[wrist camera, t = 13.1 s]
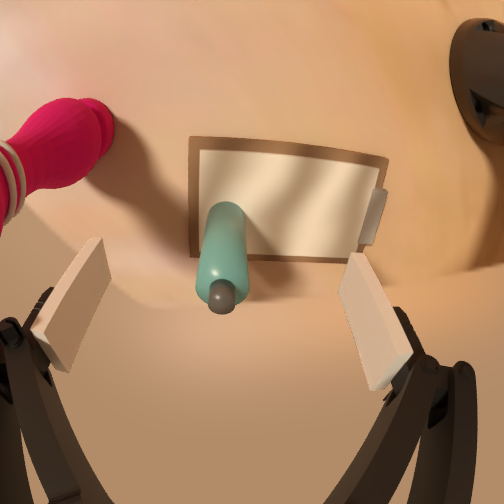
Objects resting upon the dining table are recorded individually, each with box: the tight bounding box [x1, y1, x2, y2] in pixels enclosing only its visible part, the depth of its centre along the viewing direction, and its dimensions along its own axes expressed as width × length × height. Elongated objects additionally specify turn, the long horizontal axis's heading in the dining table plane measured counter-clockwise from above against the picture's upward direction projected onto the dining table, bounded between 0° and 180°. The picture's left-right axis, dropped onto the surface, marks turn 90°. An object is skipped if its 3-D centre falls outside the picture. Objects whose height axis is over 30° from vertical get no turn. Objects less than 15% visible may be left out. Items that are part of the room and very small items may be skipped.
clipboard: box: [188, 136, 389, 264], centre depth 26 cm, size 18×12×1 cm, turn 85°
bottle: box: [196, 201, 249, 314], centre depth 21 cm, size 3×3×11 cm
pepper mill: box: [0, 98, 114, 236], centre depth 13 cm, size 7×7×20 cm
